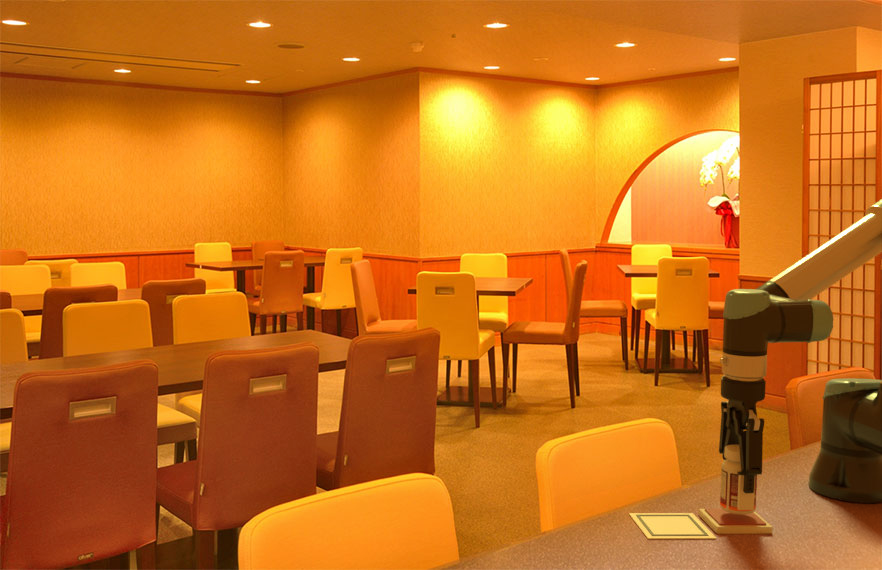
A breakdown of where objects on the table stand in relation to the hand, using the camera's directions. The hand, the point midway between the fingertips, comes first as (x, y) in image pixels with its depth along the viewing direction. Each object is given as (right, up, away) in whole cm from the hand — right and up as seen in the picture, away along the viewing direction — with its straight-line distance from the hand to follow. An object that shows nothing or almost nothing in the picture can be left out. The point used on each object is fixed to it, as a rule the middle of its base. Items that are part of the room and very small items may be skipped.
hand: (737, 502), depth 162 cm
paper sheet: (-12, -4, -1) cm, 13 cm away
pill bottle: (0, -2, 0) cm, 2 cm away
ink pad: (0, -4, 0) cm, 4 cm away
